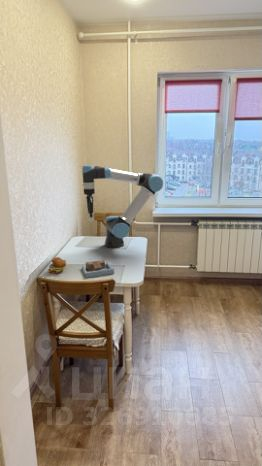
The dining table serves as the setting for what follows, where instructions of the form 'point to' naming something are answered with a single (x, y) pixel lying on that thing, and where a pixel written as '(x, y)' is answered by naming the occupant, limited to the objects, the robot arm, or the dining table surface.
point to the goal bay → (100, 272)
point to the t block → (95, 265)
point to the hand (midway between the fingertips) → (91, 221)
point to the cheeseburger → (57, 265)
